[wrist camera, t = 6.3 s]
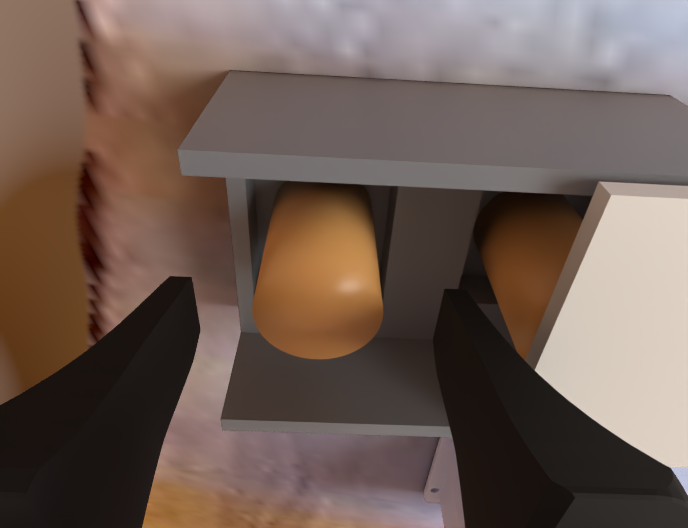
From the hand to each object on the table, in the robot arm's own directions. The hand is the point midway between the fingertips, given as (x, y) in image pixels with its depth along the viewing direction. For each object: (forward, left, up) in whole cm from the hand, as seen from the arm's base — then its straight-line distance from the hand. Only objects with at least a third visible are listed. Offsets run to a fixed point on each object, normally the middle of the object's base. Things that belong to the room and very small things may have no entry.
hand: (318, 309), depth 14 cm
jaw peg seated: (0, -7, -5) cm, 9 cm away
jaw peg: (0, 0, -5) cm, 5 cm away
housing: (0, -4, -5) cm, 7 cm away
